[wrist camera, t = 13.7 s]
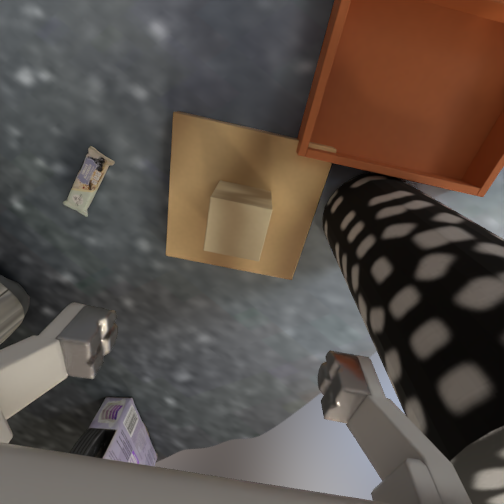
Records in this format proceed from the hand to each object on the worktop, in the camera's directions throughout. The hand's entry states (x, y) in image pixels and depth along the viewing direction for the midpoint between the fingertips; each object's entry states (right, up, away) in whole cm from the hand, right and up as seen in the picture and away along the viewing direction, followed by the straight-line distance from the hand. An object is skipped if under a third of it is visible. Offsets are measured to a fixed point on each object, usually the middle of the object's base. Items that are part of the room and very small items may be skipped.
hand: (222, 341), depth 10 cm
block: (0, +7, +14) cm, 15 cm away
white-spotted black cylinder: (+12, +7, +15) cm, 21 cm away
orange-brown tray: (+13, +15, +10) cm, 23 cm away
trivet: (0, +8, +15) cm, 17 cm away
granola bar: (-14, +10, +15) cm, 22 cm away
